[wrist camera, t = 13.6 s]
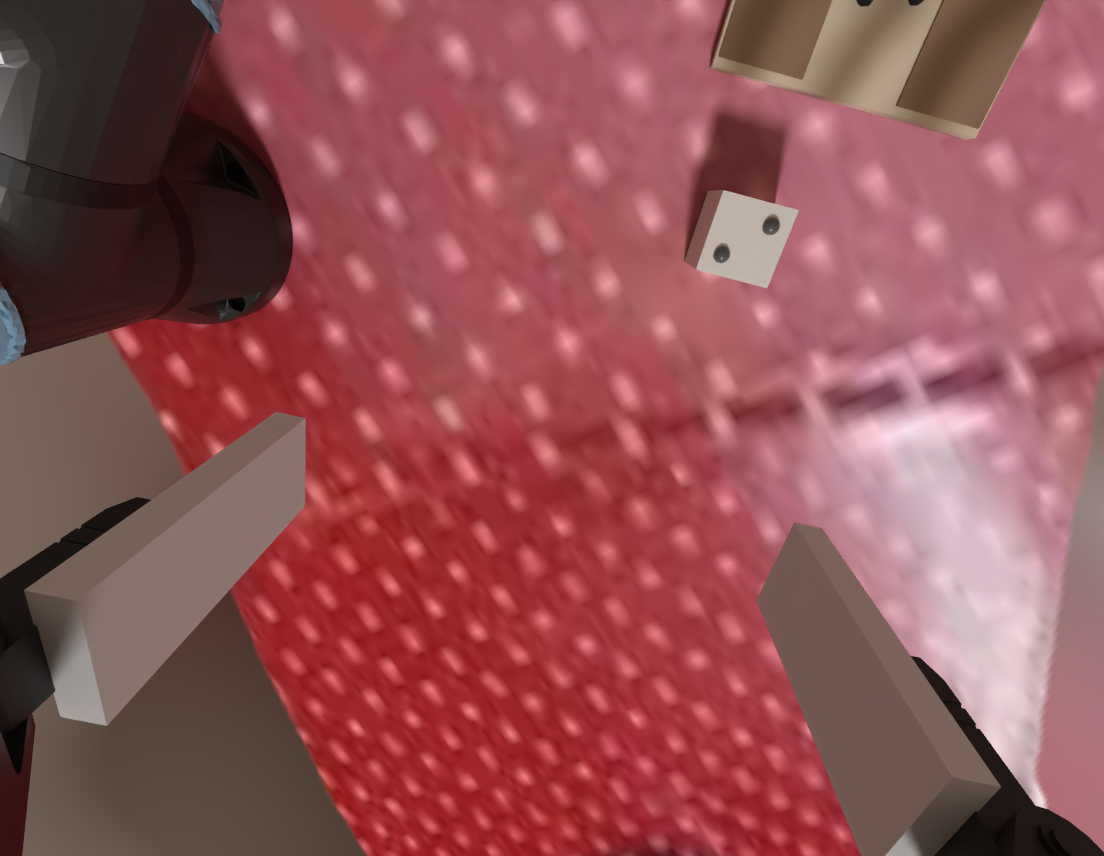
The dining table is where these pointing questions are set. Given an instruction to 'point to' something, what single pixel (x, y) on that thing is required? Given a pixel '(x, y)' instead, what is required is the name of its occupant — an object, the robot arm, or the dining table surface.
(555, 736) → the dining table surface
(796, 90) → the board
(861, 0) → the action figure
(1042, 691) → the dining table surface
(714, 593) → the dining table surface
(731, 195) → the die
